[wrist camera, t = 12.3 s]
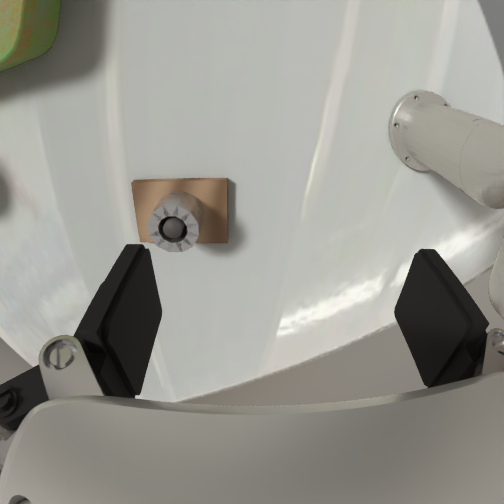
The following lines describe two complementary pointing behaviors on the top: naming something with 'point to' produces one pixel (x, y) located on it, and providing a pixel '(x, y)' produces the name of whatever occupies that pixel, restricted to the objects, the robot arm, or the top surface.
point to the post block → (213, 225)
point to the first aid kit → (26, 29)
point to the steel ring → (182, 208)
